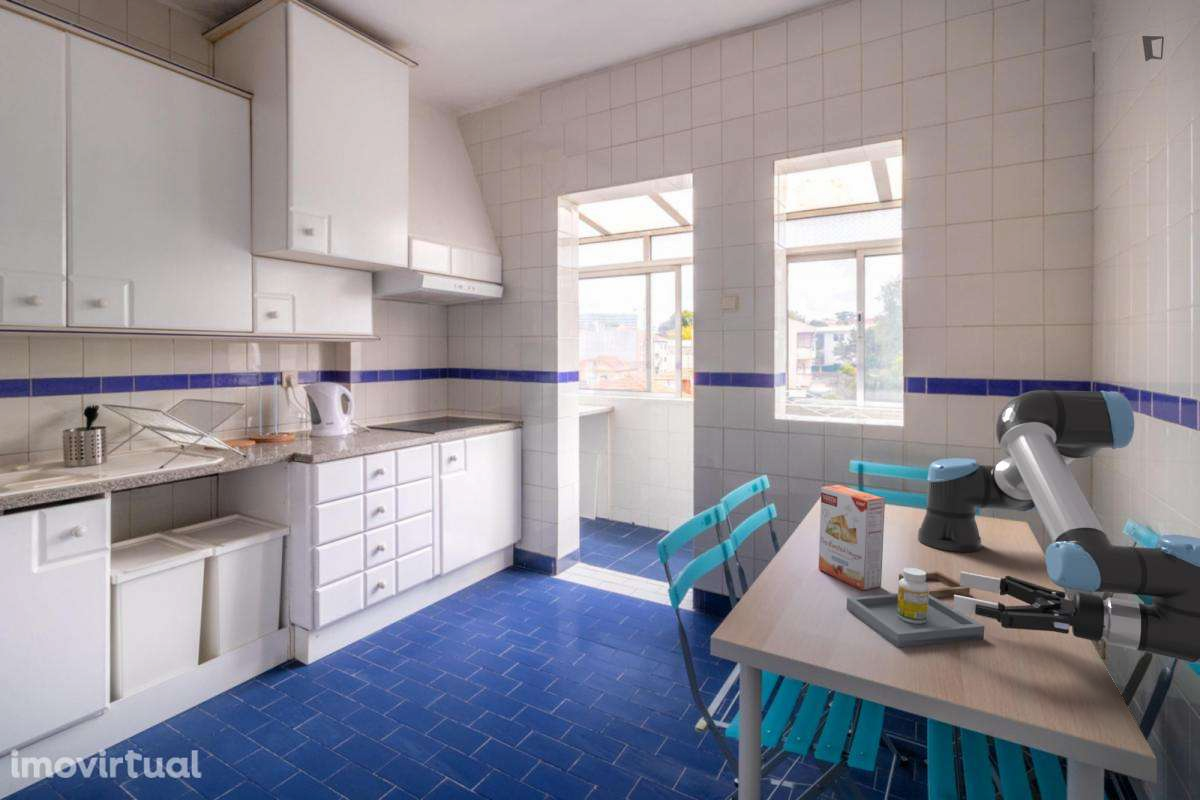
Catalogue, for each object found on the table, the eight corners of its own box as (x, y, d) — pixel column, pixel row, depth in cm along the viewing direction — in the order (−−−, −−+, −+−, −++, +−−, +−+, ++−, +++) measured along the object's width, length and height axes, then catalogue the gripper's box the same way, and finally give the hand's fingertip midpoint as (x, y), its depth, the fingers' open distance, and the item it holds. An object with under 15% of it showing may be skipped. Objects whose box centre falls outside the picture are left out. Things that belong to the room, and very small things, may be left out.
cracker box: (816, 570, 147) (819, 485, 145) (835, 566, 149) (838, 483, 147) (862, 591, 134) (866, 499, 132) (882, 587, 136) (886, 497, 134)
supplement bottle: (923, 627, 115) (926, 578, 114) (893, 619, 118) (896, 571, 117) (930, 617, 119) (932, 570, 118) (900, 610, 122) (903, 564, 121)
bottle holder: (936, 577, 142) (936, 571, 142) (969, 594, 132) (969, 587, 132) (898, 580, 140) (899, 573, 140) (929, 597, 131) (929, 591, 130)
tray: (923, 602, 128) (924, 591, 128) (983, 638, 112) (984, 626, 112) (846, 609, 125) (846, 597, 125) (897, 647, 109) (898, 634, 109)
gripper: (1109, 673, 91) (949, 634, 104) (1094, 614, 112) (961, 587, 124) (1113, 626, 91) (951, 592, 103) (1097, 574, 111) (963, 552, 123)
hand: (956, 589), depth 114 cm, fingers open, 13 cm apart
